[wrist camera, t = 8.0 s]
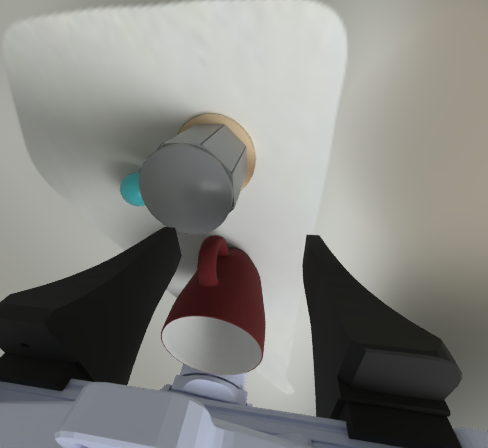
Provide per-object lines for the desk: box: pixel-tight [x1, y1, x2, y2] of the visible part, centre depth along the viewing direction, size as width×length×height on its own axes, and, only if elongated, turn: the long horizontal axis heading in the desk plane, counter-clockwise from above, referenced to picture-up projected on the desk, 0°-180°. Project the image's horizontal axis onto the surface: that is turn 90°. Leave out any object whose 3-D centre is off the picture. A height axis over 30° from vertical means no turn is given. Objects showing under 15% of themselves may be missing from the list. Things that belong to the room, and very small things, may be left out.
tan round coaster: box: [177, 114, 256, 190], centre depth 20 cm, size 7×7×1 cm
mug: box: [161, 235, 265, 375], centre depth 21 cm, size 10×8×10 cm
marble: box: [120, 173, 145, 206], centre depth 21 cm, size 3×3×3 cm
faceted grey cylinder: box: [139, 124, 247, 234], centre depth 17 cm, size 6×6×7 cm
